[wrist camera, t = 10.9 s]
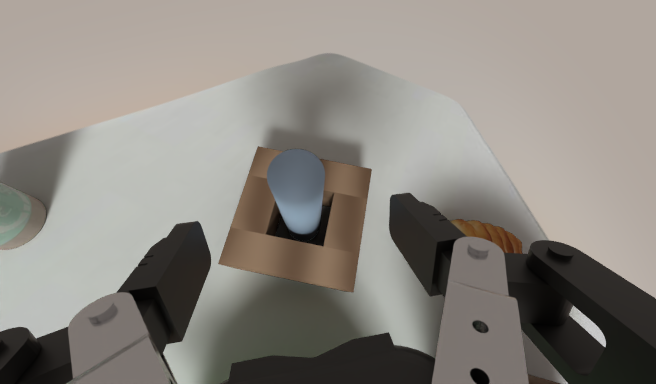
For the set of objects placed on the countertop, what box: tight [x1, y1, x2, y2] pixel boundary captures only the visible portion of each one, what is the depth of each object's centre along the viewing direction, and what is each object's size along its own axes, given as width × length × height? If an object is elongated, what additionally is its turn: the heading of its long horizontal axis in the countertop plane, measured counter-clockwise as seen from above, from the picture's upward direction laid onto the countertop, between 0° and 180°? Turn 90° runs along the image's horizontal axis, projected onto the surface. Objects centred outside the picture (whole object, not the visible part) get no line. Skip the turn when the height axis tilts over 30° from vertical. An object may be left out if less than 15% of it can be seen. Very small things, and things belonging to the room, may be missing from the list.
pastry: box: [450, 219, 522, 254], centre depth 28 cm, size 9×7×4 cm
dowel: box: [267, 149, 325, 241], centre depth 23 cm, size 4×4×14 cm
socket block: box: [218, 147, 372, 292], centre depth 27 cm, size 12×12×5 cm
